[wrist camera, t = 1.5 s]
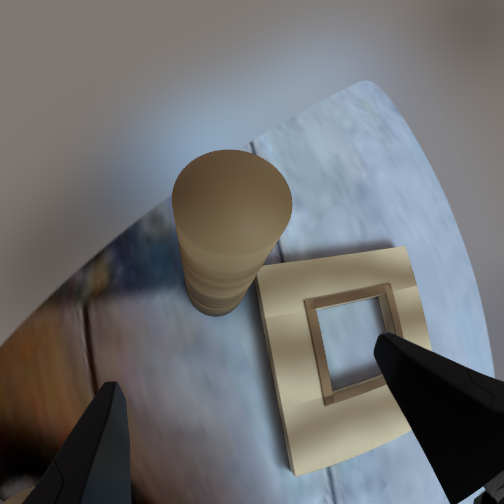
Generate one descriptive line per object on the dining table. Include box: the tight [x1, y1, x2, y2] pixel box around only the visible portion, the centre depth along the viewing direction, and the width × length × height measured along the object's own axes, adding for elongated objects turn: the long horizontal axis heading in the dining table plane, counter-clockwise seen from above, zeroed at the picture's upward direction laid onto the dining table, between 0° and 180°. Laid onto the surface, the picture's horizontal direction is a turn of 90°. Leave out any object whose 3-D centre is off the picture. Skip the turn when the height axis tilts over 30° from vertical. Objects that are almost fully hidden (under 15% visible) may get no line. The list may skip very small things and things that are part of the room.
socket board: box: [254, 246, 432, 477], centre depth 21 cm, size 16×14×1 cm
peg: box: [172, 150, 292, 317], centre depth 16 cm, size 4×4×13 cm
